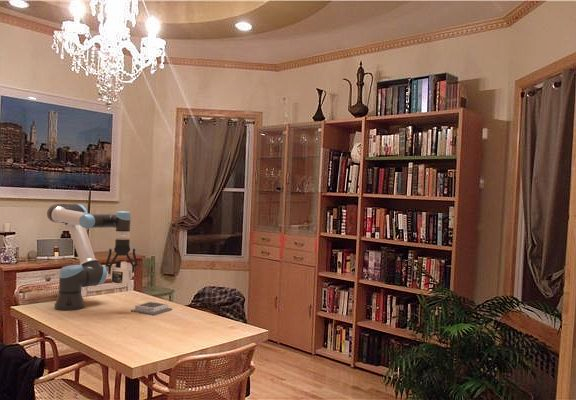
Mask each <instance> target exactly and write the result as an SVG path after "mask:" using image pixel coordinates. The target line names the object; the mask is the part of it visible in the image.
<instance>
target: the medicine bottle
mask: <svg viewBox="0 0 576 400" xmlns="http://www.w3.org/2000/svg"><path fill="white" fill-rule="evenodd" d="M130 273H131V269H128V261H125V260H119V261H116V262H115V269H112V280H111V283H112V284H115V285H116V284H117V285H124V284H128V283H129V284H130V283H131V279H130Z"/></svg>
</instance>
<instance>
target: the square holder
mask: <svg viewBox="0 0 576 400" xmlns="http://www.w3.org/2000/svg"><path fill="white" fill-rule="evenodd" d="M134 306H135V307H134V308H133V309H130V312H132V313H137V314H144V315H147V316H148V315H149V316H157V315H160V314H163V313H166V312H169V311H172V310H173V308H171V307H169V304H168V303H164V302H156V301H147V302H143V303H140V304H139V303H138V304H136V305H134Z"/></svg>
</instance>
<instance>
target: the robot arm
mask: <svg viewBox="0 0 576 400" xmlns="http://www.w3.org/2000/svg"><path fill="white" fill-rule="evenodd" d="M46 216H47V219H48V220H49V221H50V222H52V223H55V224H56V223H57V224H64V225H65V227H66V229H68V230H69V232H70V235H71V238H72V242H73V243H74V248H75V251H76V254H77V256H78V260H79V264H72V265H71V264H70V265H66V266H62V267H61V268H60V270H59V275H58V276H59V282H58V284H59V285H58V295H57V298H56V300H55V303H54V309H55V310H58V311H75V310H80V309H84V307H85V301H84V298H83V294H82V291H83V290H82V289H83V288H87V287H96V286H99V285H102V284H104V283H105V281H106V280H107V276H108V274H110V280H111V281H112V270H113V267H112V266H113V264H114V263H115V261H116V259H117V258H118V257H119V256H120V257H121V256H124V257H125V256H126V258H127V260H128V262H129V264H130V265H131V266H130V270H131V273H130V280H132V279H133V274H134V273H135V267H137V266H138V265H139V264H138V260H137V257H136V248H130V243H131V242H130V239H131V232H130V231H131V219H132V218H131V212H130V211H123V210H121V211H120V210H118V211H116V213H115V214H113V213H105V214H103V213H101V214H99V213H98V214H97V213H90V212H88V210H87V208H86V207H85V206H84V205H83V204H78V203H54V204H52V205H50V206H49V207H48V209H47V211H46ZM97 228H100V229H101V228H115V239H114V241H115V243H114V245H115V246H114V248H109V249H108V256H107V259H106V262H105V265H103V264H101V263H100V260H98V259H96V256H95V253H94V250H93V247H92V244H91V241H90V238H89V234H88V232H87V229H97ZM113 252H115V255H114V257H112V253H113ZM129 252H130V253H132V256H133V257H132V258H133V260H134V261H133V260H132V259H131V256H130V255H129ZM111 257H112V260H111V262H110V259H111ZM106 267H107V268H108V270H107V268H106Z"/></svg>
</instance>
